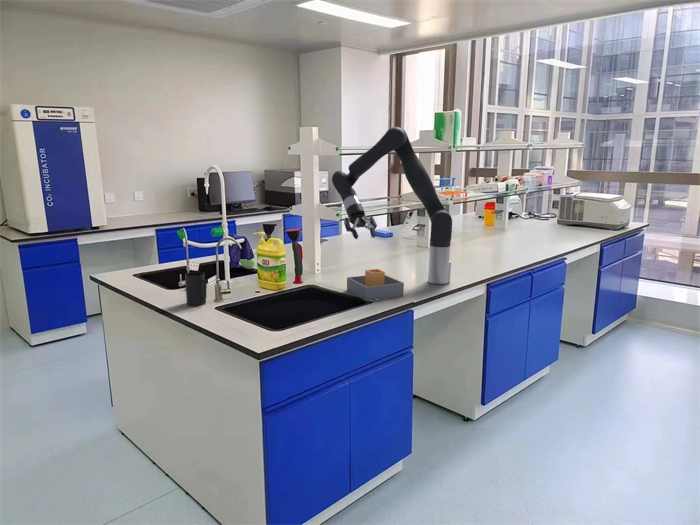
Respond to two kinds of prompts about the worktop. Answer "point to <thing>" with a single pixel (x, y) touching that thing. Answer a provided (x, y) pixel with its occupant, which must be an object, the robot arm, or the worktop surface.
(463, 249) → the worktop surface
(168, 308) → the worktop surface
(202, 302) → the black tapered tumbler
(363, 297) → the big crate
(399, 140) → the robot arm
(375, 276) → the tan cardboard box
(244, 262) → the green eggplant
